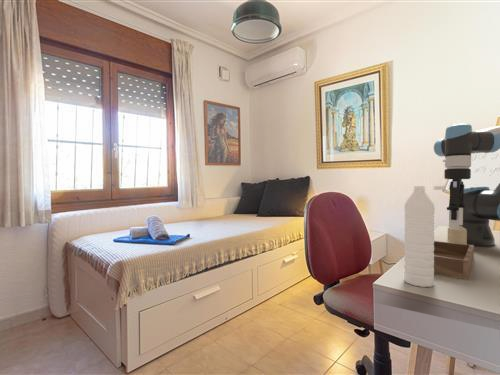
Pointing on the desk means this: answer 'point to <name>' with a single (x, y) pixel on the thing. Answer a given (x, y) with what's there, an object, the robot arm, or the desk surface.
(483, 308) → the desk surface
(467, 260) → the walnut box
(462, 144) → the robot arm
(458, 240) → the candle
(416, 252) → the water bottle
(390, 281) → the desk surface
